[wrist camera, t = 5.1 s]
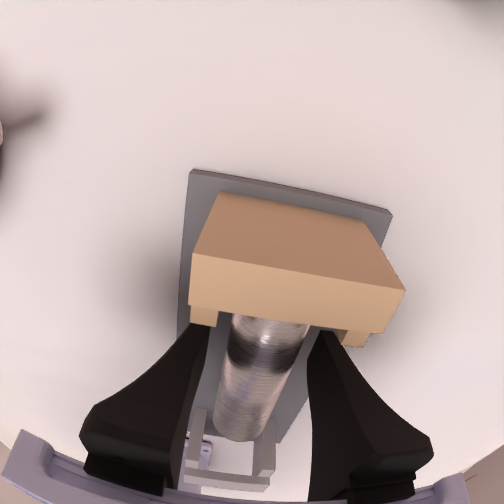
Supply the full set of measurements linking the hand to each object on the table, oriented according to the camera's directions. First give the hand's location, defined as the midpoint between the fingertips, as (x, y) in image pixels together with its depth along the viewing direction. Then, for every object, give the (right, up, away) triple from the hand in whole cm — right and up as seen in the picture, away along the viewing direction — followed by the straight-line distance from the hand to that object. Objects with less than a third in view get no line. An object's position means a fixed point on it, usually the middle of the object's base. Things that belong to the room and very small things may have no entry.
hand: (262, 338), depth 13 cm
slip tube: (0, 0, +2) cm, 2 cm away
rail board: (-1, -2, +3) cm, 4 cm away
